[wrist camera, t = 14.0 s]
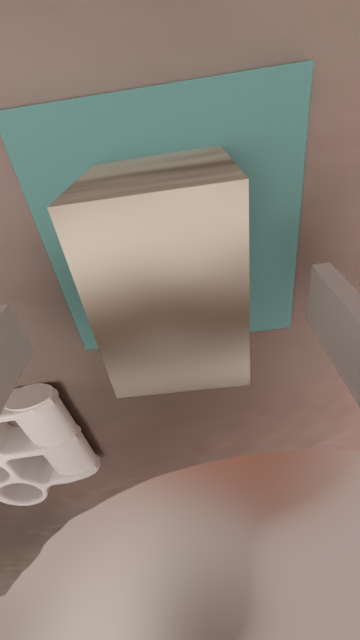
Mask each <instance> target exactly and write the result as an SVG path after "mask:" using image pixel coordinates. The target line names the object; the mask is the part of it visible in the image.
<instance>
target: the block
mask: <svg viewBox="0 0 360 640" xmlns="http://www.w3.org/2000/svg"><path fill="white" fill-rule="evenodd" d="M47 209H48V211H49V214H50V217H51V220H52V222H53V225H54V228H55V231H56V233H57V236H58V239H59V242H60V244H61V247H62V250H63V253H64V255H65V258H66V261H67V263H68V266H69V269H70V272H71V274H72V277H73V280H74V283H75V285H76V288H77V291H78V294H79V296H80V299H81V302H82V304H83V307H84V310H85V313H86V315H87V318H88V321H89V324H90V326H91V329H92V332H93V335H94V337H95V340H96V343H97V346H98V348H99V351H100V354H101V356H102V359H103V362H104V365H105V367H106V370H107V373H108V376H109V378H110V381H111V384H112V387H113V389H114V392H115V395H116V397H117V398H125V397H135V396H145V395H155V394H165V393H175V392H185V391H195V390H205V389H215V388H225V387H235V386H245V385H250V289H249V179H248V177H247V176H246V175H245V174H244V173H243V171H242V170H241V169H240V168H239V167H238V165H237V164H236V163H235V162H234V161H233V159H232V158H231V157H230V156H229V155H228V153H227V152H226V151H225V150H224V149H223V147H222V146H221V145H220V146H213V147H207V148H200V149H193V150H187V151H180V152H173V153H166V154H160V155H153V156H146V157H140V158H133V159H126V160H120V161H113V162H106V163H99V164H94V165H93V166H91V167H90V168H89V169H88V170H87V171H86V172H85V173H84V174H83V175H82V176H81V177H79V178H78V179H77V180H76V181H75V182H74V183H73V184H72V185H71V186H70V187H69V188H68V189H66V190H65V191H64V192H63V193H62V194H61V195H60V196H59V197H58V198H57V199H56V200H54V201H53V202H52V203H51V204H50V205H49V206H48V207H47Z"/></svg>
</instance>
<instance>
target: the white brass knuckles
mask: <svg viewBox="0 0 360 640" xmlns="http://www.w3.org/2000/svg"><path fill="white" fill-rule="evenodd" d="M58 395H59V393H58V391H57V390H56V389H55V388H53V387H52V386H51V385H48V384H44V383H38V384H32V385H26V386H24V387H21V388H15V389H13V391H12V393H11V395H10V397H9V398H8V400H7V402H6V404H5V406H4V408H3V410H2V412H1V414H0V502H3V503H6V504H10V505H17V506H28V505H34V504H38V503H40V502H42V501H43V500H44V499H45V498H46V497H47V495H48V492H49V489H50V486H52V485H57V484H65V483H70V482H74V481H77V480H81V479H84V478H87V477H89V476H91V475H93V474H94V473H96V472H97V471H98V469H99V468H100V458H99V456H98V455H96V454H95V453H94V451H93V450H92V448H91V447H90V445H89V443H88V442H87V440H86V439H85V437H84V436H83V434H82V432H81V428H80V426H79V425H77V424H76V423H75V421H74V420H73V418H72V417H71V415H70V413H69V412H68V410H67V409H66V407H65V406H64V404H63V402H62V401H61V399H60V398H59V396H58ZM14 420H15V421H16V422H17V424H18V425H19V426H20V427H13V426H11V425H9V424H8V423H7V422H8V421H14Z"/></svg>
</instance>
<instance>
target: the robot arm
mask: <svg viewBox="0 0 360 640" xmlns="http://www.w3.org/2000/svg"><path fill="white" fill-rule="evenodd" d="M305 318H306V320H307V322H308V323H309V325H310V327H311V328H312V330H313V331H314V333H315V335H316V336H317V338H318V340H319V341H320V343H321V345H322V346H323V348H324V349H325V351H326V353H327V354H328V356H329V358H330V359H331V361H332V363H333V364H334V366H335V367H336V369H337V371H338V372H339V374H340V376H341V377H342V379H343V380H344V382H345V384H346V385H347V387H348V389H349V390H350V392H351V394H352V395H353V397H354V398H355V400H356V402H357V403H358V405H359V407H360V293H359V292H358V291H357V290H356V289H355V288H354V286H353V285H352V284H351V283H350V282H349V281H348V280H347V279H346V278H345V277H344V276H343V275H342V274H341V273H340V272H339V271H338V270H337V269H336V268H335V267H334V266H333V265H332V264H331V263H330V262H328V263H320V264H312V265H311V274H310V282H309V291H308V300H307V309H306V317H305ZM32 353H33V350H32V348H31V346H30V344H29V342H28V340H27V338H26V336H25V334H24V332H23V330H22V328H21V326H20V325H19V323H18V321H17V319H16V317H15V315H14V313H13V311H12V309H11V307H10V305H9V304H4V305H0V414H1V412H2V410H3V408H4V406H5V404H6V402H7V400H8V398H9V397H10V395H11V393H12V391H13V389H14V387H15V385H16V383H17V381H18V379H19V378H20V376H21V374H22V372H23V370H24V368H25V366H26V364H27V362H28V360H29V358H30V357H31V355H32Z"/></svg>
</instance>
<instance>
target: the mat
mask: <svg viewBox="0 0 360 640" xmlns="http://www.w3.org/2000/svg"><path fill="white" fill-rule="evenodd" d="M313 63H314V60H309V61H303V62H297V63H291V64H284V65H278V66H272V67H266V68H260V69H253V70H247V71H241V72H235V73H229V74H222V75H216V76H210V77H204V78H198V79H191V80H185V81H179V82H173V83H167V84H160V85H154V86H148V87H142V88H136V89H129V90H123V91H117V92H111V93H105V94H99V95H92V96H86V97H80V98H74V99H68V100H61V101H55V102H49V103H43V104H37V105H30V106H24V107H18V108H12V109H6V110H0V135H1V137H2V140H3V142H4V145H5V147H6V150H7V153H8V155H9V158H10V160H11V163H12V165H13V168H14V170H15V173H16V175H17V178H18V180H19V183H20V185H21V188H22V190H23V193H24V196H25V198H26V201H27V203H28V206H29V208H30V211H31V213H32V216H33V218H34V221H35V223H36V226H37V228H38V231H39V233H40V236H41V238H42V241H43V244H44V246H45V249H46V251H47V254H48V256H49V259H50V261H51V264H52V266H53V269H54V271H55V274H56V276H57V279H58V281H59V284H60V287H61V289H62V292H63V294H64V297H65V299H66V302H67V304H68V307H69V309H70V312H71V314H72V317H73V319H74V322H75V324H76V327H77V330H78V332H79V335H80V337H81V340H82V342H83V345H84V347H85V350H91V349H99V348H98V346H97V343H96V340H95V337H94V335H93V332H92V329H91V326H90V324H89V321H88V318H87V315H86V313H85V310H84V307H83V304H82V302H81V299H80V296H79V294H78V291H77V288H76V285H75V283H74V280H73V277H72V274H71V272H70V269H69V266H68V263H67V261H66V258H65V255H64V253H63V250H62V247H61V244H60V242H59V239H58V236H57V233H56V231H55V228H54V225H53V222H52V220H51V217H50V214H49V211H48V209H47V207H48V206H49V205H50V204H51V203H52V202H53V201H54V200H56V199H57V198H58V197H59V196H60V195H61V194H62V193H63V192H64V191H65V190H66V189H68V188H69V187H70V186H71V185H72V184H73V183H74V182H75V181H76V180H77V179H78V178H79V177H81V176H82V175H83V174H84V173H85V172H86V171H87V170H88V169H89V168H90V167H91V166H93V165H94V164H99V163H106V162H113V161H120V160H126V159H133V158H140V157H146V156H153V155H160V154H166V153H173V152H180V151H187V150H193V149H200V148H207V147H213V146H220V145H221V146H222V147H223V149H224V150H225V151H226V152H227V153H228V155H229V156H230V157H231V158H232V159H233V161H234V162H235V163H236V164H237V165H238V167H239V168H240V169H241V170H242V171H243V173H244V174H245V175H246V176H247V177H248V179H249V289H250V332H255V331H265V330H274V329H283V328H291V317H292V305H293V294H294V282H295V271H296V259H297V248H298V236H299V225H300V213H301V202H302V190H303V178H304V167H305V155H306V144H307V132H308V121H309V109H310V98H311V86H312V75H313Z"/></svg>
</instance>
